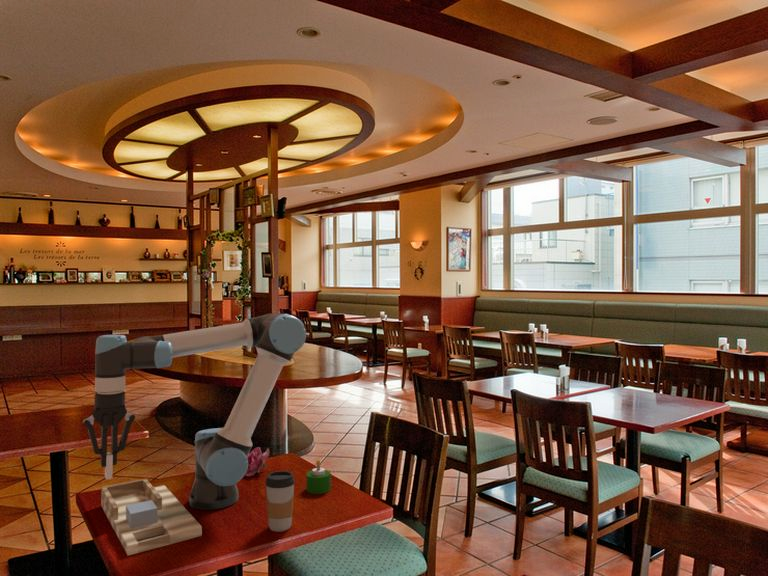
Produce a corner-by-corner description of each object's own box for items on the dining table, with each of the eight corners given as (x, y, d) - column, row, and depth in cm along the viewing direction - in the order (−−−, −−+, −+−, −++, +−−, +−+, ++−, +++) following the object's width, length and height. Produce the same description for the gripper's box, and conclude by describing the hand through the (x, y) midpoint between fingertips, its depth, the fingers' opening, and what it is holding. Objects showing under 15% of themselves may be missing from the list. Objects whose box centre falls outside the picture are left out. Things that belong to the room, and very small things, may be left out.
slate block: (125, 519, 157) (125, 505, 157) (151, 513, 161) (151, 500, 161) (130, 528, 151) (130, 513, 151) (157, 522, 155) (157, 508, 155)
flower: (246, 486, 198) (232, 462, 199) (256, 479, 208) (243, 456, 209) (271, 469, 197) (257, 445, 199) (280, 462, 207) (266, 440, 208)
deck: (101, 506, 172) (101, 487, 172) (164, 492, 184) (164, 474, 184) (127, 555, 141) (127, 532, 141) (201, 535, 152) (201, 514, 152)
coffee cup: (267, 521, 162) (267, 470, 161) (295, 520, 162) (295, 469, 162) (263, 534, 153) (263, 480, 153) (293, 533, 154) (293, 479, 154)
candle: (335, 488, 188) (335, 459, 188) (320, 495, 181) (320, 465, 181) (316, 483, 193) (316, 455, 192) (301, 490, 186) (301, 461, 185)
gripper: (133, 387, 157) (131, 469, 157) (81, 391, 149) (79, 478, 149) (138, 391, 151) (137, 477, 151) (85, 396, 143) (83, 486, 143)
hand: (108, 477), depth 150 cm, fingers closed
